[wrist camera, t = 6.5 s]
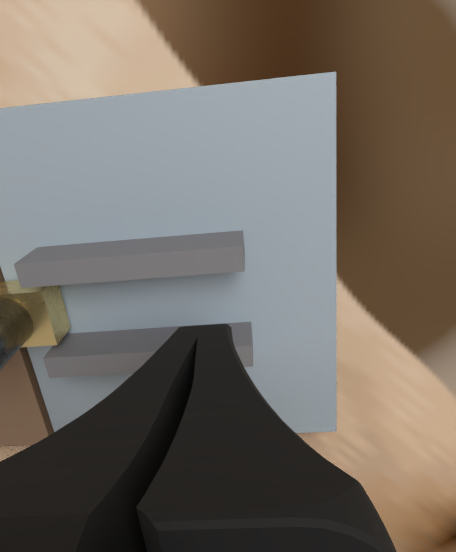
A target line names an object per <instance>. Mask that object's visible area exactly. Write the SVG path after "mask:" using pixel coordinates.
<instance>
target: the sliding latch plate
mask: <svg viewBox="0 0 456 552" xmlns="http://www.w3.org/2000/svg"><path fill="white" fill-rule="evenodd" d="M11 280H19V283H20V286H21V288H29V287H42V286H56V285H59V286H60V290H61V293H62V297H63V301H64V304H65V308H66V312H67V315H68V319H69V323H70V326H71V328H70V329H69V330H68V332H67V333H66V334H65V336H64V337H63V338H62V340H61V341H60V342H59V344H58V345H51V346H35V347H21V348H20V349H19V350H18V351H17V352H16V354H15V355H14V356H13V357H12V358H11V359H10V360H9V361H8V362H7V364H6V365H5V366H4V367H3V368H2V369H1V370H0V446H15V445H34V444H35V443H37V442H39V441H41V440H43V439H44V438H46V437H48V436H49V435H51V434H52V433H54V432H56V431H57V430H59V429H60V428H62V427H64V426H65V425H67V424H68V423H70V422H72V421H73V420H75V419H76V418H78V417H79V416H81V415H82V414H84V413H85V412H87V411H88V410H89V409H91V408H92V407H94V406H95V405H96V404H98V403H99V402H100V401H102V400H103V399H104V398H106V397H107V396H108V395H109V394H111V393H112V392H113V391H114V390H116V389H117V388H118V387H119V386H120V385H121V384H122V383H124V382H125V381H126V380H127V379H128V378H129V377H130V376H131V375H132V374H134V373H135V372H136V371H137V370H138V369H139V368H140V367H141V366H142V365H143V364H144V363H145V362H146V361H147V360H148V359H149V358H150V357H151V356H152V355H153V354H154V353H155V352H156V351H157V350H158V349H159V348H160V347H161V346H162V345H163V344H164V343H165V342H166V341H167V340H168V339H169V338H170V336H171V335H172V334H173V333H174V332H175V331H176V330H177V329H178V328H179V327H182V326H197V325H212V324H228V325H229V326H230V327H231V328H232V337H233V343H234V346H235V349H236V351H237V354H238V356H239V358H240V360H241V362H242V364H243V366H244V368H245V370H246V371H247V373H248V375H249V377H250V378H251V380H252V381H253V383H254V385H255V386H256V388H257V389H258V391H259V392H260V393H261V395H262V396H263V398H264V399H265V400H266V401H267V403H268V404H269V405H270V406H271V408H272V409H273V410H274V411H275V412H276V413H277V415H278V416H279V417H280V418H281V419H282V420H283V421H284V422H285V423H286V424H287V425H288V426H289V427H290V428H291V429H292V430H293V431H294V432H295V433H310V432H333V431H336V72H329V73H320V74H311V75H301V76H292V77H283V78H275V79H266V80H255V81H246V82H239V83H238V82H237V83H229V84H219V85H210V86H200V87H191V88H182V89H173V90H164V91H154V92H145V93H136V94H127V95H118V96H109V97H99V98H90V99H81V100H72V101H63V102H54V103H44V104H35V105H26V106H17V107H8V108H0V281H11Z"/></svg>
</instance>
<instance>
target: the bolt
mask: <svg viewBox="0 0 456 552" xmlns="http://www.w3.org/2000/svg"><path fill="white" fill-rule="evenodd" d="M70 328H71V326H70V323H69V319H68V315H67V312H66V308H65V304H64V301H63V297H62V293H61V290H60V286H59V285H56V286H42V287H29V288H21V286H20V283H19V280H11V281H0V370H1V369H2V368H3V367H4V366H5V365H6V364H7V362H8V361H9V360H10V359H11V358H12V357H13V356H14V355H15V354H16V352H17V351H18V350H19V349H20V348H21V347H35V346H51V345H58V344H59V342H60V341H61V340H62V338H63V337H64V336H65V334H66V333H67V332H68V330H69V329H70Z"/></svg>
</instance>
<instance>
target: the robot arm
mask: <svg viewBox="0 0 456 552" xmlns="http://www.w3.org/2000/svg"><path fill="white" fill-rule="evenodd" d="M0 552H396V549H395V547H394V545H393V543H392V540H391V538H390V536H389V534H388V532H387V530H386V528H385V526H384V524H383V522H382V520H381V518H380V516H379V514H378V512H377V511H376V509H375V507H374V505H373V504H372V502H371V500H370V499H369V497H368V495H367V493H366V492H365V490H364V488H363V487H362V485H361V484H360V483H359V482H358V481H357V480H356V479H354V478H353V477H351V476H350V475H348V474H347V473H345V472H344V471H342V470H341V469H339V468H338V467H336V466H335V465H333V464H332V463H330V462H329V461H328V460H326V459H325V458H323V457H322V456H321V455H320V454H318V453H317V452H316V451H315V450H314V449H312V448H311V447H310V446H309V445H308V444H306V443H305V442H304V441H303V440H302V439H301V438H300V437H299V436H298V435H297V434H296V433H295V432H294V431H293V430H292V429H291V428H290V427H289V426H288V425H287V424H286V423H285V422H284V421H283V420H282V419H281V418H280V417H279V416H278V415H277V413H276V412H275V411H274V410H273V409H272V408H271V406H270V405H269V404H268V403H267V401H266V400H265V399H264V398H263V396H262V395H261V393H260V392H259V391H258V389H257V388H256V386H255V385H254V383H253V381H252V380H251V378H250V377H249V375H248V373H247V371H246V370H245V368H244V366H243V364H242V362H241V360H240V358H239V356H238V354H237V351H236V349H235V346H234V343H233V337H232V328H231V327H230V326H229V325H228V324H212V325H197V326H182V327H179V328H178V329H177V330H176V331H175V332H174V333H173V334H172V335H171V336H170V338H169V339H168V340H167V341H166V342H165V343H164V344H163V345H162V346H161V347H160V348H159V349H158V350H157V351H156V352H155V353H154V354H153V355H152V356H151V357H150V358H149V359H148V360H147V361H146V362H145V363H144V364H143V365H142V366H141V367H140V368H139V369H138V370H137V371H136V372H135V373H134V374H132V375H131V376H130V377H129V378H128V379H127V380H126V381H125V382H124V383H122V384H121V385H120V386H119V387H118V388H117V389H116V390H114V391H113V392H112V393H111V394H109V395H108V396H107V397H106V398H104V399H103V400H102V401H100V402H99V403H98V404H96V405H95V406H94V407H92V408H91V409H89V410H88V411H87V412H85V413H84V414H82V415H81V416H79V417H78V418H76V419H75V420H73V421H72V422H70V423H68V424H67V425H65V426H64V427H62V428H60V429H59V430H57V431H56V432H54V433H52V434H51V435H49V436H48V437H46V438H44V439H43V440H41V441H39V442H37V443H35V444H34V445H32V446H30V447H28V448H26V449H24V450H23V451H21V452H19V453H17V454H15V455H13V456H11V457H9V458H7V459H5V460H3V461H1V462H0Z"/></svg>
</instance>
